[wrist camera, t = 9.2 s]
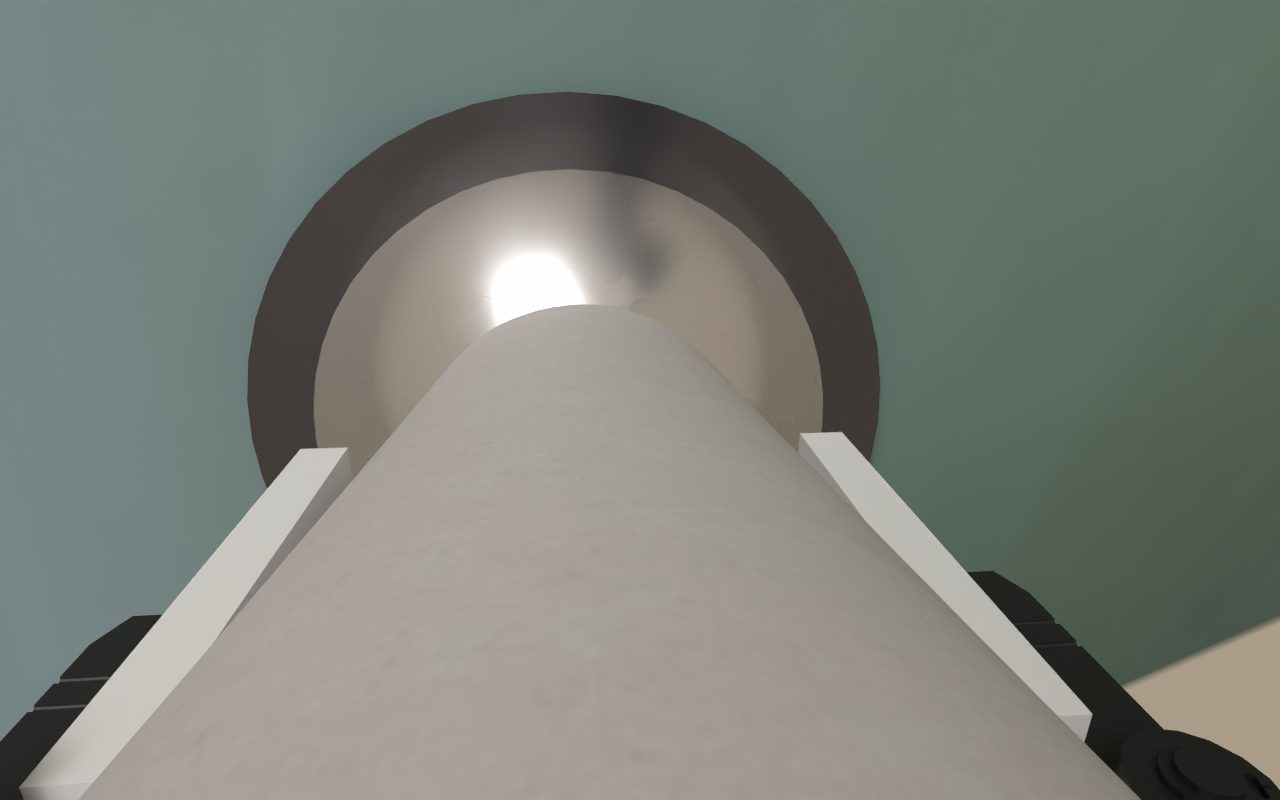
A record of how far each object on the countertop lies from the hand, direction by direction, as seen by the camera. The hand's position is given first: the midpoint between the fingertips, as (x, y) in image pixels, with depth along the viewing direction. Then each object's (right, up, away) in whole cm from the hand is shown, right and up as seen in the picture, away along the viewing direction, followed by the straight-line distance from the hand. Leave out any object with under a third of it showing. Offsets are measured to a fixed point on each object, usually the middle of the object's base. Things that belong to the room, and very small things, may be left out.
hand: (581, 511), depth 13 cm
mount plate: (0, +1, +4) cm, 4 cm away
